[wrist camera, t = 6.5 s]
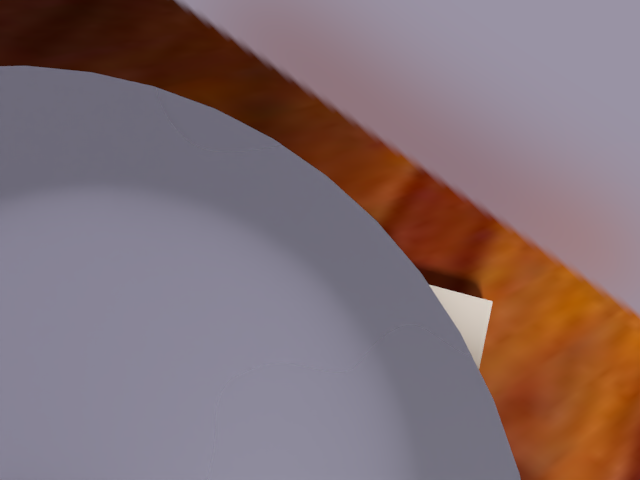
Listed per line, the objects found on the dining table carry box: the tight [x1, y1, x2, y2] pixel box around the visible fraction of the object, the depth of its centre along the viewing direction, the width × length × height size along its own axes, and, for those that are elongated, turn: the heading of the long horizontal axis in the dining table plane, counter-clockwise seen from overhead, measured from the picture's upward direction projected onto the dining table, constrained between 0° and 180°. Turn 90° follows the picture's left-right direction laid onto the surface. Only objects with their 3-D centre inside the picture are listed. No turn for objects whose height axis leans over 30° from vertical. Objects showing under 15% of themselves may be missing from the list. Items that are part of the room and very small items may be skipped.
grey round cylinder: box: [0, 66, 521, 480], centre depth 9 cm, size 6×6×13 cm
